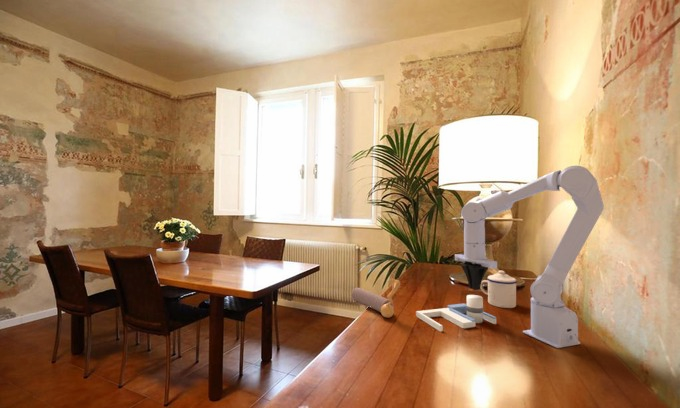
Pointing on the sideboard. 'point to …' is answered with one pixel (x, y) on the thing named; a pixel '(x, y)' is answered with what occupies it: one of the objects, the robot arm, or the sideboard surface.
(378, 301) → the coil
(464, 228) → the robot arm
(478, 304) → the banded white cylinder
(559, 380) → the sideboard surface
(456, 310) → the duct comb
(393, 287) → the figurine
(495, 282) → the teacup with lid
